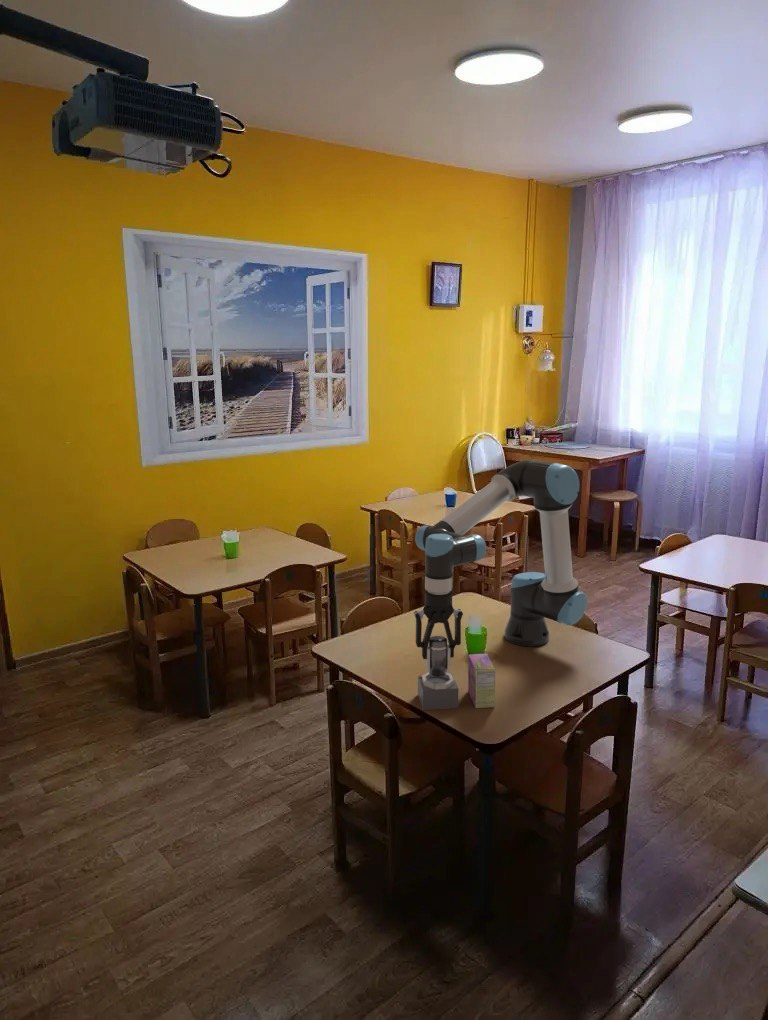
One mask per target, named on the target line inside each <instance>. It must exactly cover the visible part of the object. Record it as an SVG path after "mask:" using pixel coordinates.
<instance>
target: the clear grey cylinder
mask: <svg viewBox="0 0 768 1020" xmlns="http://www.w3.org/2000/svg"><path fill="white" fill-rule="evenodd" d="M447 644H448V639H447V637H445V636H442V635H433V636H431V637H430V640H429V644H428V646H429V648H430V671H428V672H429V674H430V675H432V676H444V675H446V674H447V673H448V670H447Z"/></svg>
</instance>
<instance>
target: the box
mask: <svg viewBox="0 0 768 1020" xmlns="http://www.w3.org/2000/svg"><path fill="white" fill-rule="evenodd" d="M467 656H468V657H467V660H468V661H467V665H468V666H467V667H468V669H467V674H468V675H467V677H468V679H467V689H468V690H467V691H468V694H469V696H470V698H471V701H472V704H473V706H474V707H475V708H474V709H485V708H486V709H489V708H496V701H495V700H496V672H497V670H496V667H495V665H494V664H493V663H492V660H491V659H490V657H489V655H488V653H473V654H468V655H467Z"/></svg>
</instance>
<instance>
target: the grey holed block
mask: <svg viewBox="0 0 768 1020" xmlns="http://www.w3.org/2000/svg"><path fill="white" fill-rule="evenodd" d="M417 696H418V700H419V702H420V705H421V708H422V711H433V710H448V709H449V710H451V709H459V686H458V683H457V682H456V679H455V678H454V675H453V673H448V672H447V674H446V675H444V676H432V675H430V674H429V671H427V672H426V673H424V674H419V675H417Z"/></svg>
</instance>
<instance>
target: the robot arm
mask: <svg viewBox="0 0 768 1020" xmlns="http://www.w3.org/2000/svg"><path fill="white" fill-rule="evenodd" d="M579 492H580V479H579V476H578V474H577V471H576V470H575V469H573V468H572V467H571V466H569V465H565V464H563V463H560V462H548V461H540V460H536V459H524V460H520V461H518V462H515V463H513V464H511V465H509V466H507V467H505V468H503V469H501V470H500V471H499V472H497V473H495V474H494V476H492V477H491V479H490V482H489V483H488V484H487V485H486V486H484V487H483V488H481V489H480V490H478V491H477V492H476V493H475V494H473V495H472V496H470V498H468V499H467V500H465V501H464V502H463V503H462V504H460V505H459V506H458V507H456V508H455V509H453V510H452V511H451V512H450V513H449V514H447V515H445V516H444V517H443V518H442V519H441V520H439V521H438V522H436V523H435V524H434V525H429V524H428V525H421V526H420V527H419V528H418V529H417V530H416V533H415V536H414V541H415V545H416V546H417V547H418V549H420V550H422V551H424V562H425V563H424V566H425V567H424V568H425V569H424V571H425V572H424V575H425V577H424V578H425V580H424V589H425V591H424V607H423V609H422V610H420V611H417V610H416V611H414V612H413V616H414V618H415V645H416V647H417V648H421V656H422V659H423V660H425V669H426V672H429V671H430V648H429V640H430V637H432V633H433V629H434V628H435V624H439V623H440V624H443V628H444V631H445V634H446V635H445V636H446V638H447V671H450V670H451V658H452V659H453V658H454V657H455V648H456V646H460V645H461V644H462V641H461V640H462V637H461V635H462V632H461V631H462V629H461V628H462V623H461V621H462V618H463V616H464V613H463V611H462V610H461V609H460V608H458V609H457V608H454V607H453V591H452V590H453V577H454V576H453V575H454V574H453V573H454V571H453V570H454V567H458V566H461V565H466V564H471V563H475V562H476V561H480V560H482V559H483V558H484V557H485V555H486V553H487V543H486V541H485V539H484V538H483V537H482V536H481V535H479V534H477V533H476V534H467V535H464V534H466V533H467V532H468V531H469V530H471V529H473V528H474V527H475V526H476V525H477V524H479V523H480V522H481V521H482V520H484V519H485V518H486V517H488V516H489V515H490V514H491V513H493V512H494V511H495V510H496V509H498V508H499V507H501V505H503V504H504V503H505V502H512V501H513V500H515V499H516V498H519V497H528V498H532V499H533V507H534V509H535V510H536V511H537V512H539V520H540V530H541V533H540V534H541V543H542V553H543V565H544V573H543V572H538V571H531V572H529V571H527V572H521V573H517V574H515V575H514V576H512V578H511V586H510V615H509V619H508V621H507V623H506V625H505V628H504V639H505V640H506V641H508V642H509V643H511V644H513V645H518V646H523V647H538V646H543V645H546V644H547V643H548V642H549V640H550V632H549V631H550V630H549V628H548V625H547V621H546V619H549V620H552V621H554V622H557V623H559V624H564V625H566V626H572V625H575V624H576V623H578V622H579V621H580V620H581V619H582V618H583V616H584V614H585V611H586V609H587V607H588V606H587V605H588V596H587V595H586V594H585V593H584V592H583V591H581V590H579V589H580V588H579V581H578V580H577V579H576V578H575V577H573V574H574V573H573V564H572V563H573V562H572V561H573V560H572V549H571V548H572V547H571V535H570V522H569V521H570V520H569V509H571V507H572V506H573V502H575V500H576V499H577V498H578V496H579V494H578V493H579ZM424 615H425V616H426V618H427V624H426V627H425V631H424V635H423V638H422V629H423V628H422V625H423V623H422V622H423V621H422V620H423V619H424ZM452 615H453V616H454V638H453V634H452V632H451V627H450V623H449V619H450V617H451V616H452Z"/></svg>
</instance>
